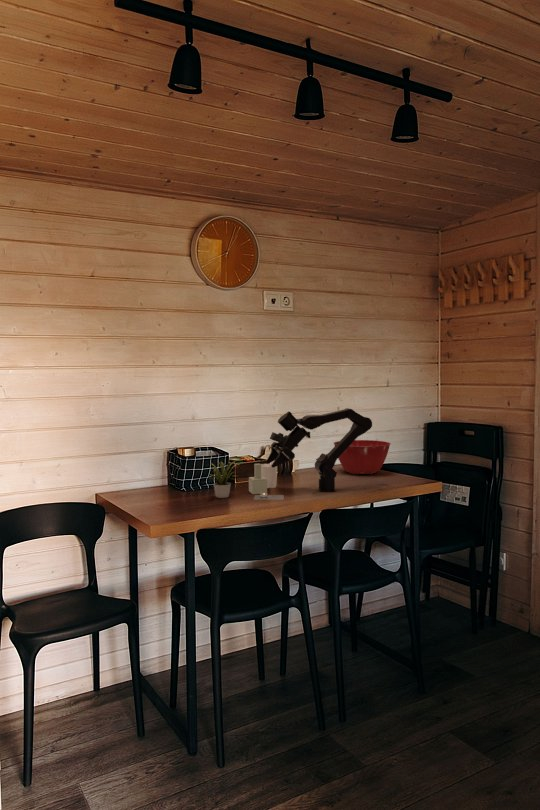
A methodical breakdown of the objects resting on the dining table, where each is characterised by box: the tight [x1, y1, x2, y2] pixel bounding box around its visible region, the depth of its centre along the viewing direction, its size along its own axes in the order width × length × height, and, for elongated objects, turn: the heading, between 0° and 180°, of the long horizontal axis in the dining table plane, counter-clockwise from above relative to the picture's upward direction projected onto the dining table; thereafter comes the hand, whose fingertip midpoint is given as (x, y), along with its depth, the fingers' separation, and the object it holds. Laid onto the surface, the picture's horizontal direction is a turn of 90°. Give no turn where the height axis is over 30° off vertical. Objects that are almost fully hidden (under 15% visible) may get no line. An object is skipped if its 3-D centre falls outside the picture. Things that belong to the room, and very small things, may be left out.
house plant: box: [208, 461, 241, 499], centre depth 262 cm, size 14×14×16 cm
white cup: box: [260, 463, 278, 489], centre depth 286 cm, size 8×8×10 cm
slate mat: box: [253, 494, 285, 501], centre depth 260 cm, size 12×9×1 cm
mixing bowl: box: [333, 439, 391, 475], centre depth 321 cm, size 28×28×16 cm
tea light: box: [259, 492, 269, 498], centre depth 259 cm, size 3×3×2 cm
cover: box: [248, 463, 268, 495], centre depth 270 cm, size 6×6×13 cm
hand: (269, 465), depth 271 cm, fingers open, 9 cm apart
